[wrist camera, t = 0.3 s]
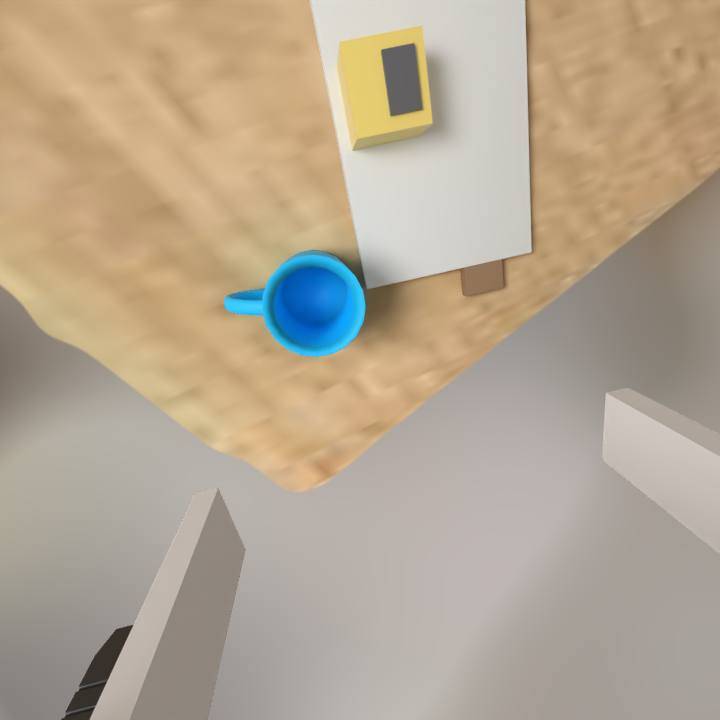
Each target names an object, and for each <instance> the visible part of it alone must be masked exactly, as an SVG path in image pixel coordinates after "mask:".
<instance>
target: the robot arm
mask: <svg viewBox="0 0 720 720" xmlns="http://www.w3.org/2000/svg"><path fill="white" fill-rule="evenodd" d="M603 435H604V436H603V451H602V460H603V461H604V462H606V463H607V464H608V465H610V466H611V467H612V468H613V469H614V470H616V471H617V472H618V473H620V474H621V475H622V476H623V477H625V478H626V479H627V480H628V481H629V482H631V483H632V484H633V485H634V486H636V487H637V488H638V489H639V490H641V491H642V492H643V493H644V494H646V495H647V496H648V497H649V498H651V499H652V500H653V501H654V502H656V503H657V504H658V505H659V506H661V507H662V508H663V509H664V510H666V511H667V512H668V513H669V514H671V515H672V516H673V517H675V518H676V519H677V520H678V521H679V522H681V523H682V524H683V525H684V526H686V527H687V528H688V529H690V530H691V531H692V532H693V533H695V534H696V535H697V536H698V537H699V538H701V539H702V540H703V541H704V542H706V543H707V544H708V545H709V546H711V547H712V548H713V549H714V550H716V551H717V552H718V553H719V554H720V434H719V433H717V432H715V431H713V430H711V429H709V428H707V427H705V426H703V425H701V424H699V423H697V422H695V421H693V420H691V419H689V418H687V417H685V416H683V415H681V414H679V413H677V412H675V411H673V410H671V409H669V408H667V407H665V406H663V405H661V404H659V403H657V402H655V401H653V400H651V399H649V398H647V397H645V396H643V395H641V394H639V393H637V392H635V391H633V390H631V389H629V388H624V389H620V390H616V391H611V392H607V393H606V401H605V418H604V434H603ZM244 554H245V547H244V545H243V543H242V540H241V538H240V536H239V534H238V531H237V529H236V527H235V525H234V523H233V520H232V518H231V516H230V514H229V511H228V509H227V507H226V505H225V502H224V500H223V498H222V496H221V494H220V491H219V489H218V488H216V489H212V490H208V491H204V492H200V493H196V494H194V496H193V498H192V500H191V502H190V505H189V507H188V509H187V511H186V513H185V516H184V517H183V520H182V522H181V524H180V526H179V528H178V530H177V533H176V535H175V537H174V539H173V541H172V543H171V546H170V548H169V550H168V552H167V554H166V556H165V558H164V560H163V563H162V565H161V567H160V569H159V571H158V574H157V576H156V578H155V580H154V582H153V584H152V586H151V589H150V591H149V593H148V595H147V597H146V599H145V602H144V604H143V606H142V608H141V610H140V612H139V614H138V617H137V619H136V621H135V623H134V625H131V626H127V627H123V628H119V629H116V630H115V632H114V633H113V634H112V635H111V636H110V638H109V639H108V640H107V642H106V643H105V644H104V645H103V647H102V648H101V649H100V650H99V652H98V653H97V654H96V655H95V657H94V659H93V661H92V662H91V664H90V666H89V668H88V670H87V672H86V674H85V676H84V678H83V680H82V682H81V683H80V685H79V687H80V688H79V691H78V692H76V693H75V695H74V697H73V699H72V701H71V703H70V704H69V706H68V708H67V710H66V716H65V718H62V720H208V716H209V711H210V707H211V702H212V698H213V693H214V689H215V684H216V680H217V675H218V671H219V666H220V662H221V657H222V653H223V648H224V644H225V639H226V635H227V630H228V626H229V621H230V617H231V612H232V608H233V604H234V599H235V595H236V590H237V585H238V581H239V577H240V572H241V568H242V563H243V559H244Z"/></svg>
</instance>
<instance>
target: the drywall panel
mask: <svg viewBox="0 0 720 720" xmlns="http://www.w3.org/2000/svg"><path fill="white" fill-rule="evenodd" d="M309 1H310V6H311V11H312V16H313V21H314V26H315V31H316V37H317V42H318V47H319V52H320V57H321V62H322V67H323V72H324V77H325V82H326V88H327V93H328V98H329V103H330V108H331V113H332V118H333V123H334V128H335V133H336V139H337V144H338V149H339V154H340V159H341V164H342V169H343V174H344V179H345V184H346V190H347V195H348V200H349V205H350V210H351V215H352V220H353V225H354V230H355V235H356V241H357V246H358V251H359V256H360V261H361V266H362V271H363V276H364V281H365V287H366V288H367V289H371V288H375V287H380V286H384V285H389V284H393V283H398V282H402V281H407V280H411V279H415V278H420V277H424V276H429V275H433V274H438V273H442V272H446V271H451V270H455V269H460V271H461V281H462V292H463V295H464V296H471V295H475V294H479V293H484V292H488V291H493V290H497V289H501V288H504V286H503V268H502V259H504V258H509V257H513V256H517V255H522V254H526V253H531V252H532V251H531V212H530V172H529V132H528V93H527V53H526V14H525V0H309ZM417 26H422V28H423V37H424V46H425V55H426V64H427V74H428V83H429V92H430V101H431V110H432V120H433V124H432V125H431V126H429V127H428V128H427V129H426V130H425V131H424V132H423V133H422V134H421V135H420V136H419V137H415V138H410V139H405V140H400V141H396V142H391V143H386V144H381V145H377V146H372V147H367V148H362V149H358V150H353V151H352V148H351V143H350V137H349V132H348V126H347V121H346V116H345V110H344V105H343V99H342V94H341V88H340V83H339V78H338V72H337V59H338V51H339V42H341V41H346V40H351V39H356V38H361V37H366V36H371V35H376V34H381V33H386V32H392V31H397V30H402V29H407V28H412V27H417Z"/></svg>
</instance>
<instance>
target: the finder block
mask: <svg viewBox="0 0 720 720" xmlns="http://www.w3.org/2000/svg"><path fill="white" fill-rule="evenodd" d="M337 72H338V78H339V83H340V88H341V94H342V99H343V105H344V110H345V116H346V121H347V126H348V132H349V137H350V143H351V148H352V151H353V150H358V149H362V148H367V147H372V146H377V145H381V144H386V143H391V142H396V141H400V140H405V139H410V138H415V137H419V136H420V135H421V134H422V133H423V132H424V131H425V130H426V129H427V128H428V127H429V126H431V125H432V124H433V120H432V110H431V101H430V92H429V83H428V74H427V64H426V55H425V46H424V37H423V28H422V26H417V27H412V28H407V29H402V30H397V31H392V32H386V33H381V34H376V35H371V36H366V37H361V38H356V39H351V40H346V41H341V42H339V51H338V59H337Z"/></svg>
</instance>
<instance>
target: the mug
mask: <svg viewBox="0 0 720 720" xmlns="http://www.w3.org/2000/svg"><path fill="white" fill-rule="evenodd" d="M224 306H225V308H226V310H228V311H230V312H232V313H236V314H243V315H264V319H265V323H266V326H267V328H268V329H269V331H270V332H271V334H272V335H273V337H274V338H275V340H277V341H278V342H279V343H280V344H282V345H283V346H284V347H285V348H286V349H288V350H290V351H293V352H295V353H298V354H300V355H303V356H314V357H319V356H324V355H329V354H333V353H335V352H337V351H339V350H341V349H342V348H344V347H346V346H347V345H348V344H349V343H350V342H351V341H352V340H353V339H354V338H355V337H356V336H357V334H358V332H359V330H360V328H361V326H362V324H363V322H364V315H365V308H366V305H365V299H364V293H363V290H362V288H361V286H360V284H359V282H358V280H357V278H356V276H355V275H354V274H353V273H352V272H351V271H350V270H349V269H348V267H347V266H346V265H345V264H344V263H343V262H342V261H340V260H339V259H338V258H337V257H335V256H333V255H331V254H329V253H327V252H323V251H316V250H310V251H304V252H299V253H298V254H296V255H294V256H292V257H291V258H289V259H288V260H286V261H285V262H284V263H283V264H282V265H281V266H280V267H279V268H278V269H277V270H276V271H275V273H274V274H273V275H272V276H271V277H270V278H269V280H268V283H267V285H266V288H265V289H260V290H250V291H243V292H238V293H233V294H230V295H228V296H226V297H225V300H224Z"/></svg>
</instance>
